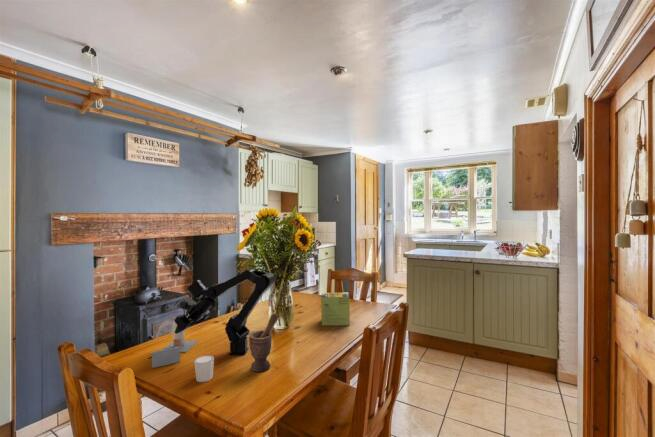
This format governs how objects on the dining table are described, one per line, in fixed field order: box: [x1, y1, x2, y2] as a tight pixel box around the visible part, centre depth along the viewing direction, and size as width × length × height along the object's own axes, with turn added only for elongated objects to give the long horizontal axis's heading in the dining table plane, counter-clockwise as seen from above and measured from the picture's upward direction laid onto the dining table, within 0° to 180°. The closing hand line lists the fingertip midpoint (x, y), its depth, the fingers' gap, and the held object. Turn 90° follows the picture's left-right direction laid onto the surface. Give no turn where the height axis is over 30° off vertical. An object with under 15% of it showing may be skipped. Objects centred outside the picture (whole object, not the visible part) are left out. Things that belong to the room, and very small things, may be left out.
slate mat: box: [161, 340, 199, 354], centre depth 144 cm, size 12×12×1 cm
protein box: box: [320, 291, 351, 326], centre depth 173 cm, size 10×15×16 cm
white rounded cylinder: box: [172, 319, 186, 348], centre depth 144 cm, size 5×5×12 cm
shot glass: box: [193, 355, 215, 383], centre depth 115 cm, size 7×7×7 cm
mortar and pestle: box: [248, 313, 279, 373], centre depth 123 cm, size 12×9×20 cm
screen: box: [151, 346, 181, 369], centre depth 127 cm, size 10×1×6 cm, turn 118°
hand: (182, 329), depth 143 cm, fingers open, 9 cm apart
